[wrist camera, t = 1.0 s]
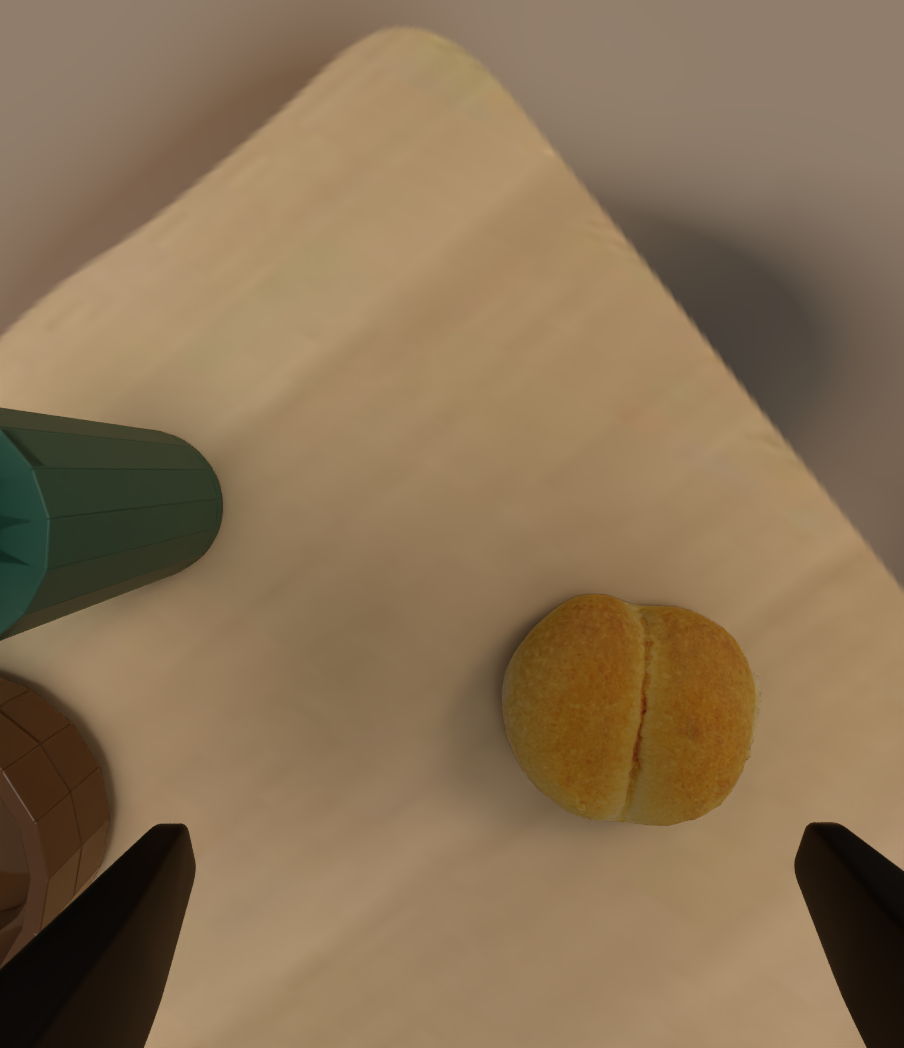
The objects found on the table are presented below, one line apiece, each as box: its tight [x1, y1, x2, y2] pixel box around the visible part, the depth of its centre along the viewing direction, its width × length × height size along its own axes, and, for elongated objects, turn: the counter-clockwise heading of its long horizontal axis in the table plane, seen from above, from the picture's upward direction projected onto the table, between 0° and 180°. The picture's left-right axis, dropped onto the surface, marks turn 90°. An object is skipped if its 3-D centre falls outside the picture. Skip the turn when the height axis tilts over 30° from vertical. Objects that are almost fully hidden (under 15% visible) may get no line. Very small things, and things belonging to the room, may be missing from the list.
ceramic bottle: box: [0, 408, 223, 641], centre depth 15 cm, size 5×5×14 cm
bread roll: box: [501, 594, 760, 826], centre depth 21 cm, size 8×9×4 cm
